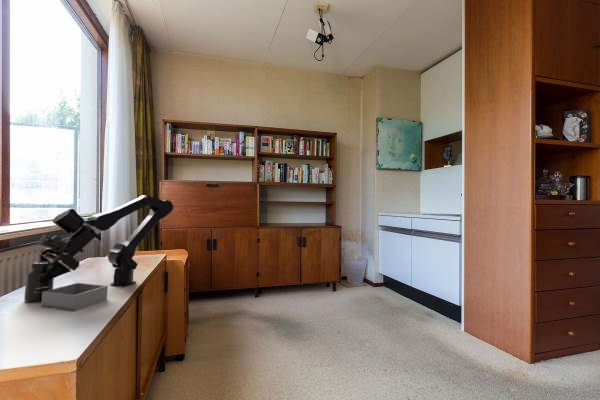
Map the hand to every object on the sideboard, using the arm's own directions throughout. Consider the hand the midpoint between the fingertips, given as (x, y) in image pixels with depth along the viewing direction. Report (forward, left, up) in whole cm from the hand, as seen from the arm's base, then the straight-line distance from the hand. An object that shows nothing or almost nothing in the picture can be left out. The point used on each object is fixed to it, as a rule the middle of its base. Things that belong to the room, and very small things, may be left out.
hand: (34, 279), depth 95 cm
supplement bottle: (-1, +1, -7) cm, 7 cm away
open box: (-2, +14, -7) cm, 15 cm away
